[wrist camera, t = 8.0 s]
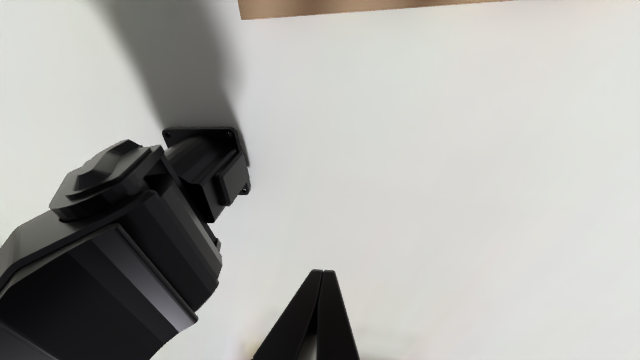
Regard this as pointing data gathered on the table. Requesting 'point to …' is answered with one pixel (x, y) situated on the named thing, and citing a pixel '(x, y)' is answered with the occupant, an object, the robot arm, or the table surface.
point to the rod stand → (332, 6)
